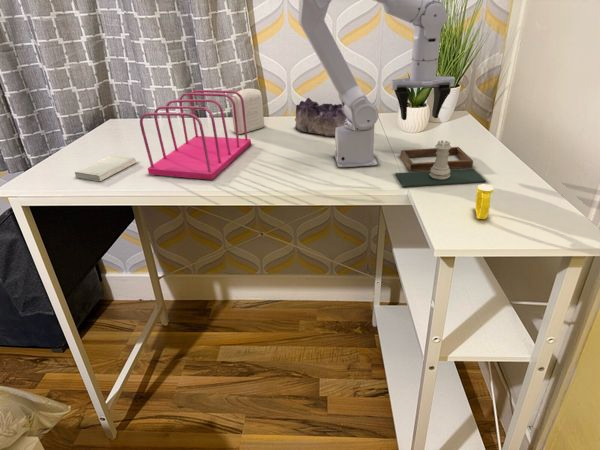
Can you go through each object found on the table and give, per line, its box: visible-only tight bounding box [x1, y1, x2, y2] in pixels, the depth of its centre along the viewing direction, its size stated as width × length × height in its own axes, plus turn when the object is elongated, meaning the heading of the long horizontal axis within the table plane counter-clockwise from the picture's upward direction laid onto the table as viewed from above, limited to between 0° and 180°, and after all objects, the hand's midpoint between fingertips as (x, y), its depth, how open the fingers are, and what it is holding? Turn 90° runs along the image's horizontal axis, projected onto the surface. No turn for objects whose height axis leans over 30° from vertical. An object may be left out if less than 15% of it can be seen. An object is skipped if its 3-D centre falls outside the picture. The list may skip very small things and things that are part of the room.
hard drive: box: [74, 154, 137, 182], centre depth 110 cm, size 2×8×12 cm
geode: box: [294, 97, 346, 137], centre depth 127 cm, size 20×12×10 cm, turn 64°
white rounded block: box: [230, 88, 265, 135], centre depth 131 cm, size 10×4×12 cm, turn 134°
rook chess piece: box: [429, 140, 452, 180], centre depth 94 cm, size 4×4×8 cm
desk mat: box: [395, 168, 487, 188], centre depth 96 cm, size 18×7×1 cm, turn 93°
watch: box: [475, 183, 495, 220], centre depth 80 cm, size 6×3×6 cm, turn 168°
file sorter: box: [139, 89, 252, 181], centre depth 110 cm, size 17×25×16 cm
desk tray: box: [399, 146, 474, 172], centre depth 104 cm, size 15×10×2 cm, turn 93°
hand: (419, 117), depth 105 cm, fingers open, 7 cm apart
